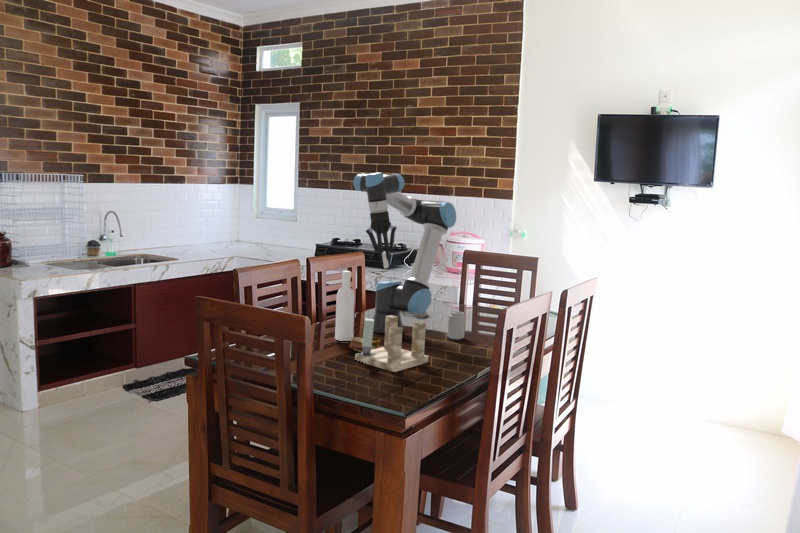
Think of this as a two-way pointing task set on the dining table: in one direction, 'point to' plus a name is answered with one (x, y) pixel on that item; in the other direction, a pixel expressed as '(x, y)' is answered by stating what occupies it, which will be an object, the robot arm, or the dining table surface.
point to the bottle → (345, 309)
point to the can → (456, 325)
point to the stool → (397, 348)
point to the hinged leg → (367, 335)
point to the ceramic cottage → (413, 314)
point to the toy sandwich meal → (357, 344)
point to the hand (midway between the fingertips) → (386, 267)
